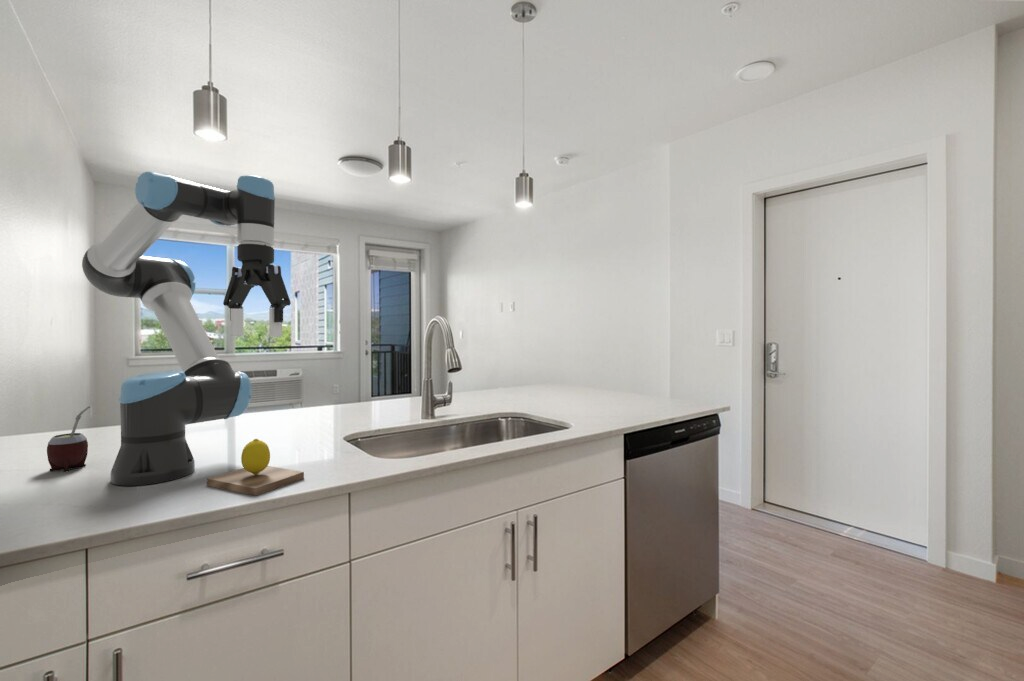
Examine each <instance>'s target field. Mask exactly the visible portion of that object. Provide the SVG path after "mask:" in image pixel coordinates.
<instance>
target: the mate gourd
mask: <svg viewBox="0 0 1024 681" xmlns="http://www.w3.org/2000/svg"><path fill="white" fill-rule="evenodd" d="M90 408H91V406H87V407H86V408H84V409H83V410H81V411H80V412H79V413H78V414H77V415H76V417H75V421H74V424H73V427H72V429H71V432H69V433H62V434H56V435H54V436H52V437H51V439H50V440H49V441H48V442H47V445H46V456H47V462H48V463H49V466H50V468H49V472H53V471H52V470H56V471H62V470H61V469H64V470H63V473H66V471H68V472H69V471H70V470H71V469H70V468H72V469H76V468H75V467H80V468H83V467H82V466H87V464H86V463H85V462H86V460H87V458H88V451H89V450H88V449H89V442H88V439H87V437H86V435H84V433H80V432H76V429H77V427H78V424H79V421H80V420H81V418H82V415H83V414H84V413H85V412H86V411H88V409H90ZM69 469H70V470H69Z"/></svg>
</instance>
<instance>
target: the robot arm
mask: <svg viewBox="0 0 1024 681" xmlns="http://www.w3.org/2000/svg"><path fill="white" fill-rule="evenodd" d="M236 184H237V185H236V189H235V190H234V189H233V190H224V189H220V188H216V187H214V186H213V187H212V186H209V185H204V184H201V183H198V182H197V183H196V182H194V181H191V180H186V179H182V178H179V177H175V176H171V175H169V174H165V173H158V172H152V171H143V172H142V173H141V174H139V176H138V177H137V182H136V183H135V187H134V188H135V189H134V191H135V198H136V200H137V202H136V203H135V204H134V205H133V206H132V207H131V208H130V210H129V211H128V212H127V213H126V214H125V215H124V216H123V217H122V219H121V220H120V221H119V222H118V223H117V224H116V226H114V228H113V229H112V230H111V231H110V232H109V233H108V234H107V235H106V237H105V238H104V239H103V240H102V241H99V242H96V243H95V242H94V244H92V245H90V247H89V248H88V249H87V250H86V251H85V252H84V254H83V257H82V260H81V261H82V264H81V267H82V272H83V274H84V277H86V280H87V281H88V282H89V284H91V285H92V286H94V287H95V288H96V289H98V290H99V291H100V292H103V293H105V294H107V295H109V296H113V297H119V298H133V299H134V298H137V299H140V301H141V303H142V305H143V306H144V308H146V309H147V310H149V311H151V312H154V315H155V317H156V319H157V321H158V323H159V325H160V327H161V329H162V331H163V333H164V335H165V337H166V340H167V342H168V343H169V346H170V348H171V351H172V352H173V354H174V356H175V359H176V362H177V363H178V365H179V367H180V369H181V370H164V371H156V372H149V373H144V374H138V375H135V376H134V375H133V376H131V377H129V378H127V379H124V381H123V382H122V384H121V386H120V397H119V400H118V402H119V404H120V408H119V409H120V411H119V412H120V447H119V450H118V452H117V455H116V457H115V460H114V462H113V465H112V468H111V471H110V482H111V484H113V485H116V486H124V487H125V486H127V487H128V486H130V487H131V486H142V485H143V486H145V485H153V484H159V483H164V482H169V481H174V480H176V479H180V478H182V477H186V476H188V475H190V474H192V473H193V472H195V463H196V462H195V459H194V456H193V454H192V451H191V449H190V446H189V444H188V441H187V439H186V425H190V424H191V425H193V424H198V423H199V424H200V423H204V422H211V421H216V420H227V419H229V418H234V417H239V416H242V414H244V413H245V412H246V410H247V409H248V407H249V405H250V403H251V398H252V384H251V379H250V378H249V376H248V375H247V374H246V372H242V371H240V370H239V371H238V370H237V371H234V370H233V368H232V365H231V364H230V363H229V361H227V360H225V359H222V358H220V357H219V355H218V353H217V351H216V349H215V347H214V345H213V344H212V341H211V340H210V338H209V336H208V334H207V332H206V329H205V328H204V326H203V325H202V322H201V320H200V318H199V316H198V314H197V313H196V310H195V308H194V307H193V305H192V303H191V299H192V297H193V295H194V294H195V291H196V282H195V278H196V277H195V274H194V272H193V270H192V269H191V267H190V266H189V264H186V263H185V262H184V261H183V260H182V261H181V260H178V259H173V258H169V257H154V256H147V255H144V254H145V253H146V252H147V251H148V250H149V249H150V248H151V247H152V246H153V245H154V244H155V243H156V242H157V241H158V240H159V239H160V238H161V237H162V236H163V235H164V234H165V232H166V231H168V229H170V227H172V225H173V224H174V223H175V222H177V221H178V220H179V218H180V217H182V216H183V215H184V216H189V217H194V218H199V219H203V220H204V219H205V220H209V221H210V222H211V223H213V224H215V225H216V226H217V225H218V226H228V227H230V226H234V225H237V226H236V227H237V228H236V229H237V231H236V232H237V233H236V234H237V235H236V239H237V240H236V241H237V242H238V245H237V246H236V247H237V248H236V249H237V251H236V254H237V261H239V262H240V263H241V264H242V265H241V267H239V266H232V268H231V276H230V280H229V284H228V286H227V290H226V293H225V295H224V300H223V303H222V304H223V305H224V306H227V307H228V308H229V319H230V320H229V321H230V337H239V336H240V337H244V307H243V304H244V303H245V300H246V299H247V297H248V295H249V293H250V292H251V290H252V288H255V287H258V286H259V287H260V288H261V290H262V291H263V293H264V294H265V296H266V298H267V299H268V302H269V303H270V306H269V311H268V312H269V313H268V315H269V316H268V318H269V319H268V330H269V334H268V337H269V338H283V322H284V309H285V308H286V307H288V306H291V300H290V297H289V294H288V290H287V287H286V285H285V282H284V279H283V276H282V268H281V266H280V265H278V264H277V265H276V264H274V262H275V248H274V247H273V246H274V245H275V208H276V207H275V204H276V203H275V202H276V197H275V186H274V184H273V181H271V180H269V179H267V178H266V177H262V176H259V175H251V174H250V175H248V174H247V175H240V176H239V177H238V178H237V183H236Z"/></svg>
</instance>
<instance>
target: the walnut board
mask: <svg viewBox="0 0 1024 681" xmlns="http://www.w3.org/2000/svg"><path fill="white" fill-rule="evenodd" d="M304 472H305V471H302V470H301V471H300V470H294V469H290V468H284V467H276V466H272V465H268V466H267V467H266V468H265V469H264V470H263V471H261V472H260V473H259V474H258V475H254V474H253V473H251V472H248V471H246V470H245V469H244V467H242V468H239V469H238V468H237V469H235V470H232V471H228V472H224V473H221V474H218V475H214V476H211V477H207V478H206V486H207V487H213V488H217V489H223V490H226V489H227V490H226V491H231V492H235V491H236V492H235V493H240V492H241V493H240V494H246V495H250V496H259V495H262V494H265V493H267V492H271V491H272V490H277V489H279V488H282V487H284V486H287V485H289V484H293V483H295V482H298V481H301V480H304V479H305V473H304Z"/></svg>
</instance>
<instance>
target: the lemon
mask: <svg viewBox="0 0 1024 681" xmlns="http://www.w3.org/2000/svg"><path fill="white" fill-rule="evenodd" d="M240 460H241V465H242V468H244V469H245V470H246V471H248V472H251V473H253V474H254V475H258V474H259V473H260V472H261V471H263V470H264V469H265V468H266V467H267V466H269V465H270V464H269V463H270V460H271V451H270V448H269V445H268V443H266V442H264V441H263V440H259V438H255V439H253V440H251V441H249V442H248V443H247V444H246V445H245V446H244V447H243V449H242V451H241V457H240Z"/></svg>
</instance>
